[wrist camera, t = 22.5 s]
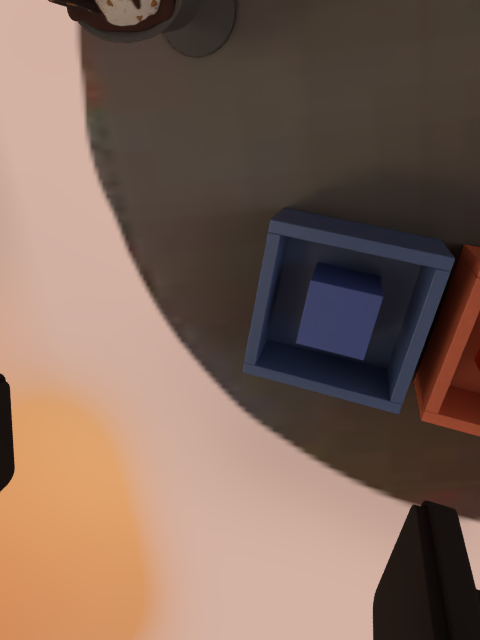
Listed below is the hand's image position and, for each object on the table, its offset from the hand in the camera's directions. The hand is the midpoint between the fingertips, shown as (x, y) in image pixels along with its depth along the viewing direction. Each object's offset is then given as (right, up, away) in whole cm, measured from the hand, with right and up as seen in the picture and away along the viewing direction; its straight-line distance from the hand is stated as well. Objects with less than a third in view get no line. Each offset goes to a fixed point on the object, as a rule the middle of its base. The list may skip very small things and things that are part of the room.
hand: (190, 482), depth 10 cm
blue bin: (+8, +5, +23) cm, 25 cm away
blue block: (+8, +5, +22) cm, 24 cm away
